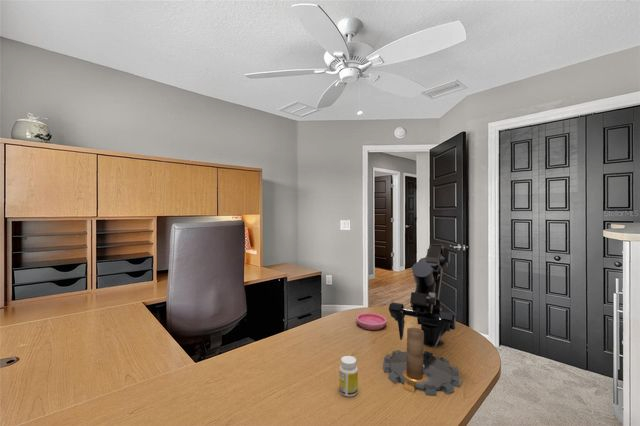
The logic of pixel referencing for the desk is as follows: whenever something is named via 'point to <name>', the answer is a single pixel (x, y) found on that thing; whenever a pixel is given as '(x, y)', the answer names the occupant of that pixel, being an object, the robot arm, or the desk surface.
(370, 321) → the saucer
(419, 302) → the robot arm
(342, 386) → the supplement bottle
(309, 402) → the desk surface
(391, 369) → the sprocket plate
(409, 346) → the pin
